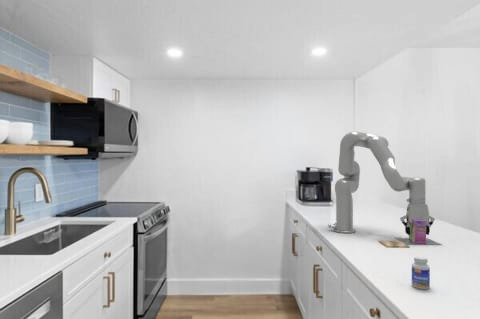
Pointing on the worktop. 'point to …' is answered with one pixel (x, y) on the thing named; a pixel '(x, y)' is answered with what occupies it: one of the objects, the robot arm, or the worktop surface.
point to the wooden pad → (394, 244)
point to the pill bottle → (420, 273)
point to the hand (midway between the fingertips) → (417, 234)
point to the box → (418, 231)
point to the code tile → (409, 242)
